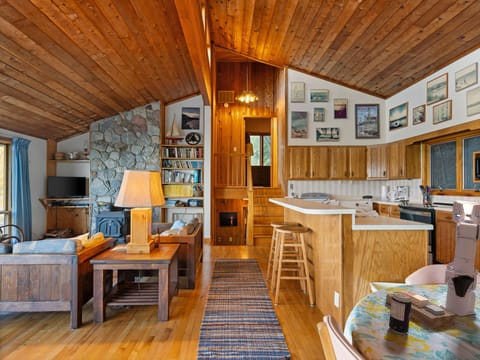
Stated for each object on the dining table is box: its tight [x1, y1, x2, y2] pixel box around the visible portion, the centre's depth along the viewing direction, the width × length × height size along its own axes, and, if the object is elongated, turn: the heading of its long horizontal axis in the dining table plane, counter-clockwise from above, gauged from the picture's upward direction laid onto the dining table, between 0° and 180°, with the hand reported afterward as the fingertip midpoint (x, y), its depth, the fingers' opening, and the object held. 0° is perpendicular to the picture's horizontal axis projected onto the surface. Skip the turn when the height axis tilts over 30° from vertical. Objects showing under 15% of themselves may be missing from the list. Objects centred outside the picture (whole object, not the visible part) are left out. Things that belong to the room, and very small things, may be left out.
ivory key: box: [411, 294, 430, 307], centre depth 112 cm, size 4×4×3 cm
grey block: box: [425, 304, 444, 316], centre depth 107 cm, size 4×4×3 cm
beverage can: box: [388, 291, 412, 335], centre depth 98 cm, size 6×6×12 cm
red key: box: [399, 290, 414, 297], centre depth 118 cm, size 4×4×3 cm
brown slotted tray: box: [385, 291, 457, 329], centre depth 112 cm, size 12×19×4 cm, turn 21°
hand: (459, 296), depth 104 cm, fingers closed
